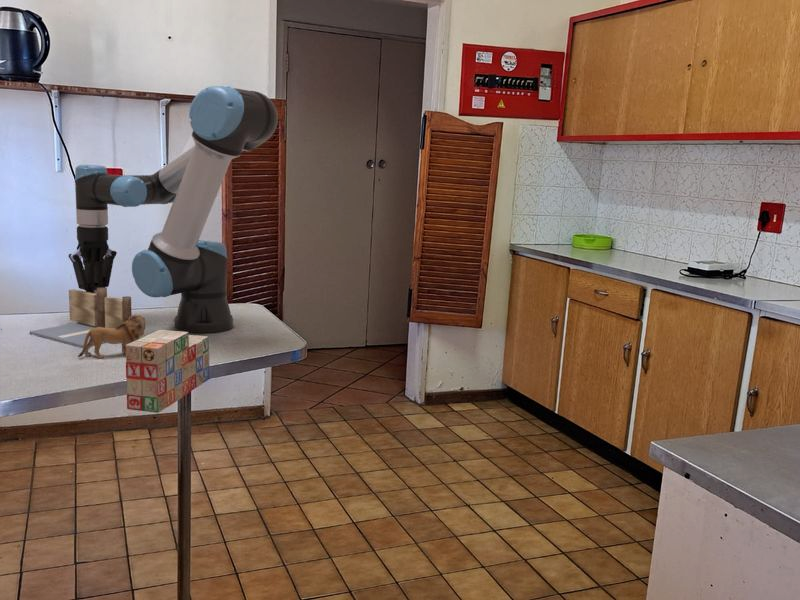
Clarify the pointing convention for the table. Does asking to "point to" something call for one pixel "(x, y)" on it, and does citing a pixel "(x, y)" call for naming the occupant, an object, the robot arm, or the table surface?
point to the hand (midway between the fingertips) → (94, 314)
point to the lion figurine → (114, 335)
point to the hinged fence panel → (83, 307)
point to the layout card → (67, 333)
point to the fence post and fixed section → (112, 309)
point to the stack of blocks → (164, 368)
